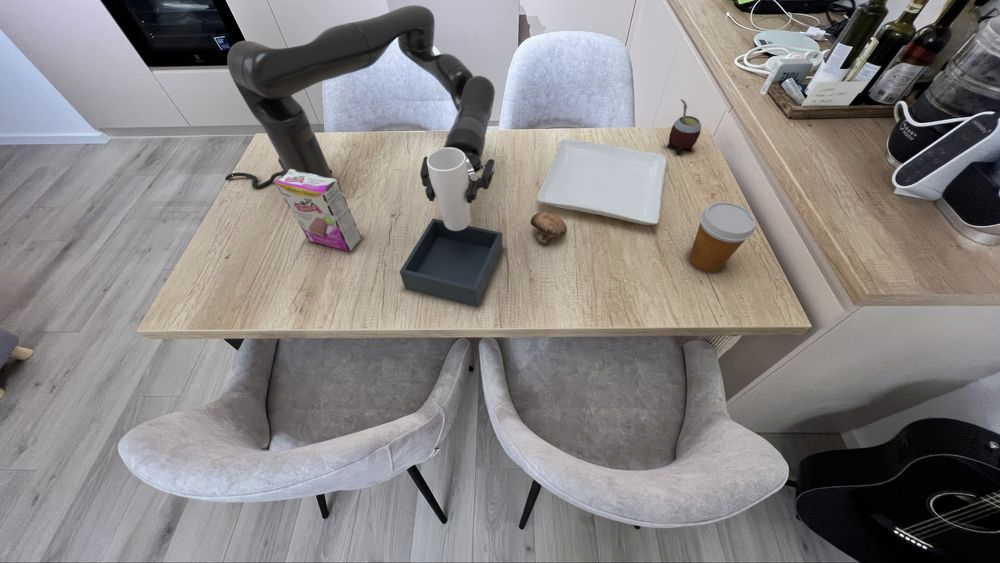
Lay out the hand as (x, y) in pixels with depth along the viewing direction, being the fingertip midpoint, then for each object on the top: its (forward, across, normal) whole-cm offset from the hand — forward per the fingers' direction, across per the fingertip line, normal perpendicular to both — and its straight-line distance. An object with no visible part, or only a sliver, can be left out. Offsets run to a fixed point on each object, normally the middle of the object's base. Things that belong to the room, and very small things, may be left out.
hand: (449, 198), depth 70 cm
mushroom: (-9, -18, -17) cm, 27 cm away
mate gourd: (-45, -52, -19) cm, 71 cm away
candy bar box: (-3, +29, -17) cm, 34 cm away
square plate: (-27, -31, -18) cm, 45 cm away
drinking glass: (-2, 0, -8) cm, 9 cm away
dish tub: (+3, +1, -17) cm, 17 cm away
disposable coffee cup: (-5, -51, -18) cm, 54 cm away
